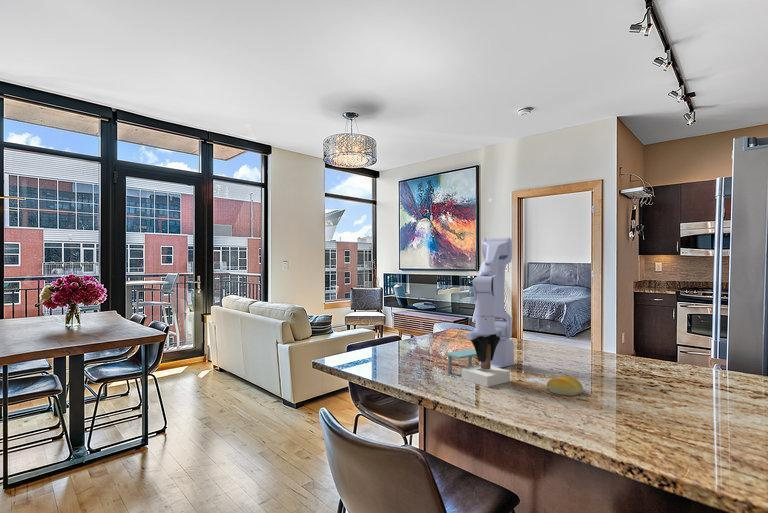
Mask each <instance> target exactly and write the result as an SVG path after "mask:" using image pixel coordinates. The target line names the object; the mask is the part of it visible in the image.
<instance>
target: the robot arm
mask: <svg viewBox="0 0 768 513" xmlns="http://www.w3.org/2000/svg"><path fill="white" fill-rule="evenodd" d="M481 252H482V255H483V259H484V261H483V262H481V264H480V267H479V270H478V274H477V276H476V277H474V278H473V280H472V290H473V300H474V302H475V305H474V307H475V308H474V309H475V314H474V315H475V328H473V329H472V330H470V331H466V332H465V339H467V340H469V341H471V343H472V345H473V347H474V350H476V354H477V356H476V357H477V360H478V362H480V363H481V362H485V359H486V348H487V345H488V344H490V345H491V366H493V367H497V368H501V369H502V368H504V367H509V366H514V365H517V362H515V346H514V342H513V340H512V339H511V337H512V335H513V323H512V319H513V318H512V317H511V315H510V314H509V313H508V312H507V311H505V308H504V306H505V283H506V282H505V279H506V268H507V265H509V264H510V263H511V262H512V259H513V240H512V238H511V237H497V238H496V237H495V238H493V237H492V238H486V237H484V238H483V239H482V241H481Z"/></svg>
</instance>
